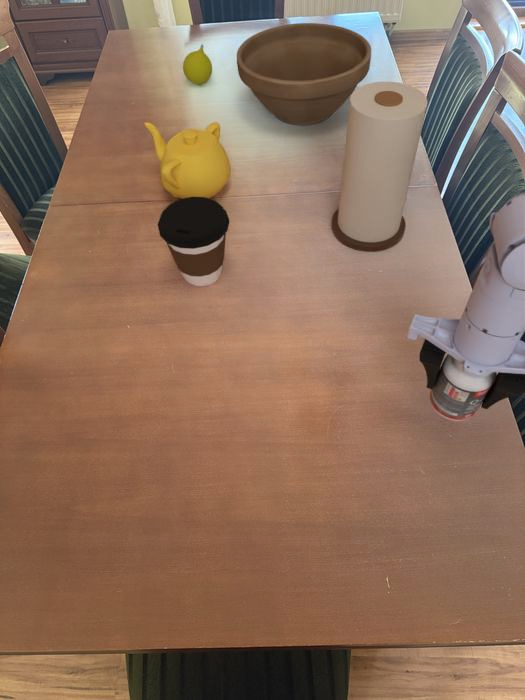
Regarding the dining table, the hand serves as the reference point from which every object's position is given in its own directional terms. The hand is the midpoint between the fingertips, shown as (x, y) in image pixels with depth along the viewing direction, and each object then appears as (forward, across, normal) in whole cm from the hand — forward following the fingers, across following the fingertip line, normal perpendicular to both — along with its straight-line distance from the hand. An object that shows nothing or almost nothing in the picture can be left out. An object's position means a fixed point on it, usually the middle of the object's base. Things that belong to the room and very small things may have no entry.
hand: (457, 391), depth 59 cm
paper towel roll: (+10, -22, +35) cm, 43 cm away
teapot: (+10, -58, +33) cm, 67 cm away
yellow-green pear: (+10, -79, +71) cm, 106 cm away
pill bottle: (+3, 0, 0) cm, 3 cm away
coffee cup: (+10, -43, +12) cm, 46 cm away
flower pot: (+10, -50, +69) cm, 85 cm away
